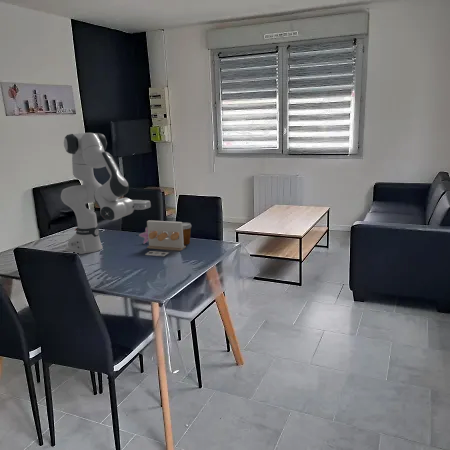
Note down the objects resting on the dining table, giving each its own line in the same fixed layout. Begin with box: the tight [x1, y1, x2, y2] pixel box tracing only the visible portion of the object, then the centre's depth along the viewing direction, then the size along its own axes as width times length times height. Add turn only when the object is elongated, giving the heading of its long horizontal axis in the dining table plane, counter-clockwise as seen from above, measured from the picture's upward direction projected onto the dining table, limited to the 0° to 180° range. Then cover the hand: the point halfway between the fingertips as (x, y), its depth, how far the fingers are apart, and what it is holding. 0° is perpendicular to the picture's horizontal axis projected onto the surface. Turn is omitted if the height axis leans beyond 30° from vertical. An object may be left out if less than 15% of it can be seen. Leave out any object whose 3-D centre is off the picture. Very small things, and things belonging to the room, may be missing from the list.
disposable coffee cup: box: [182, 222, 192, 246], centre depth 258 cm, size 10×10×12 cm
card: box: [144, 250, 170, 257], centre depth 240 cm, size 12×6×1 cm, turn 72°
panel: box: [146, 219, 187, 252], centre depth 249 cm, size 22×7×16 cm, turn 71°
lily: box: [138, 226, 153, 245], centre depth 263 cm, size 12×12×10 cm
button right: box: [170, 232, 179, 240], centre depth 246 cm, size 4×6×4 cm, turn 161°
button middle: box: [157, 232, 168, 241], centre depth 246 cm, size 4×6×4 cm, turn 161°
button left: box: [149, 231, 157, 239], centre depth 251 cm, size 4×6×4 cm, turn 162°
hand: (138, 201), depth 226 cm, fingers closed
